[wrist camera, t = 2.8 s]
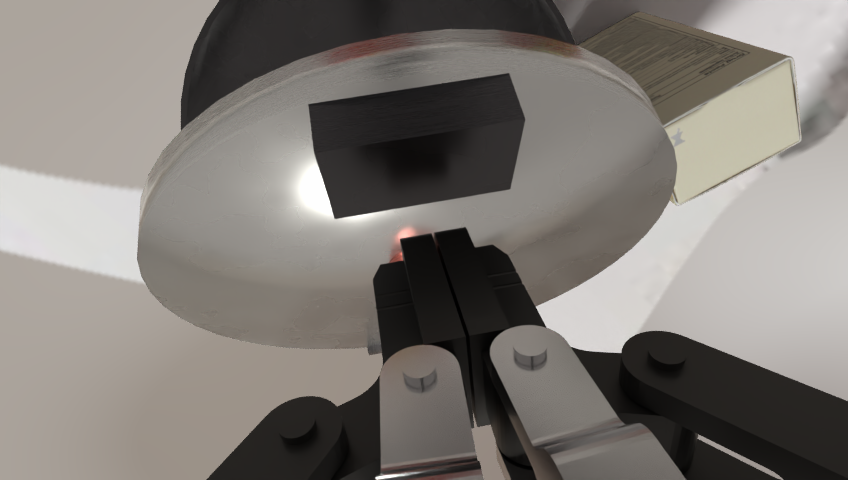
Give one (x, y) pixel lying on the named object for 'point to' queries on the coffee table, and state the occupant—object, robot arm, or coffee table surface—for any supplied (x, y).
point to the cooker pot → (332, 34)
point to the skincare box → (707, 97)
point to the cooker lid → (398, 179)
